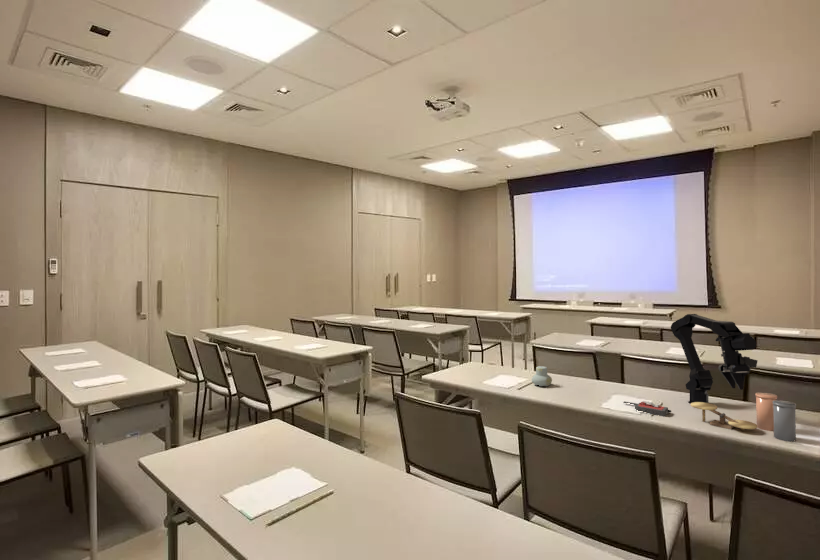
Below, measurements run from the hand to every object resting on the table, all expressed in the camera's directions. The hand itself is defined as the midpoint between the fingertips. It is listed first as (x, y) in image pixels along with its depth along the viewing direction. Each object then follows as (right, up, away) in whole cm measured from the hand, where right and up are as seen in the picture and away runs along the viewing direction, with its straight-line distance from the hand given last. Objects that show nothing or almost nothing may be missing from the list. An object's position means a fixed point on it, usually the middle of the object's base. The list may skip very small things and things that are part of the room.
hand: (737, 389), depth 185 cm
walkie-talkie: (-32, -13, +12) cm, 37 cm away
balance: (-13, -12, -9) cm, 20 cm away
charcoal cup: (0, -12, -23) cm, 26 cm away
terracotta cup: (+2, -12, -13) cm, 18 cm away
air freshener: (-64, -13, +58) cm, 88 cm away
